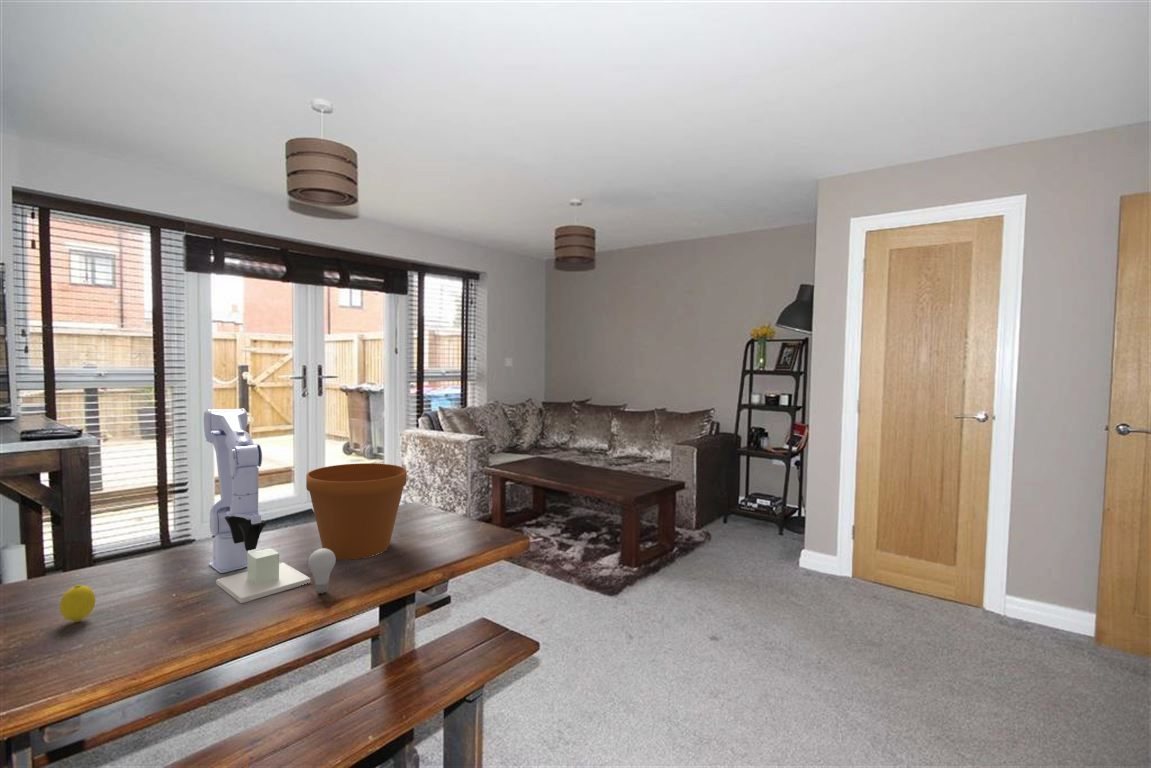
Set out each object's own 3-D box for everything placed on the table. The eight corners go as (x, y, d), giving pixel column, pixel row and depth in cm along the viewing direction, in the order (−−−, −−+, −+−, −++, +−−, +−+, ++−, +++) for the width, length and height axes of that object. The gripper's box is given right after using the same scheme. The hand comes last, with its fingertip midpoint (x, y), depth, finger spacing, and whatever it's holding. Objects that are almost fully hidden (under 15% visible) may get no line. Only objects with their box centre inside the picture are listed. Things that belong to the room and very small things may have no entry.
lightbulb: (340, 591, 133) (341, 548, 133) (317, 600, 128) (318, 555, 128) (325, 586, 136) (325, 543, 136) (302, 594, 131) (302, 549, 131)
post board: (216, 584, 136) (216, 559, 135) (282, 566, 148) (283, 544, 148) (241, 603, 126) (241, 577, 125) (310, 582, 138) (310, 559, 138)
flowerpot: (344, 573, 145) (346, 486, 144) (285, 552, 159) (286, 473, 158) (424, 545, 168) (426, 470, 168) (366, 528, 183) (367, 460, 182)
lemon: (59, 621, 115) (59, 584, 114) (94, 613, 119) (94, 577, 118) (60, 631, 111) (59, 592, 110) (96, 622, 115) (96, 585, 114)
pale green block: (247, 579, 136) (247, 553, 136) (270, 573, 140) (270, 548, 140) (255, 585, 133) (256, 558, 133) (279, 578, 137) (279, 553, 137)
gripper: (216, 490, 138) (216, 543, 138) (238, 500, 128) (238, 557, 129) (247, 486, 143) (246, 536, 144) (270, 495, 134) (269, 549, 134)
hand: (244, 546), depth 137 cm, fingers open, 7 cm apart
